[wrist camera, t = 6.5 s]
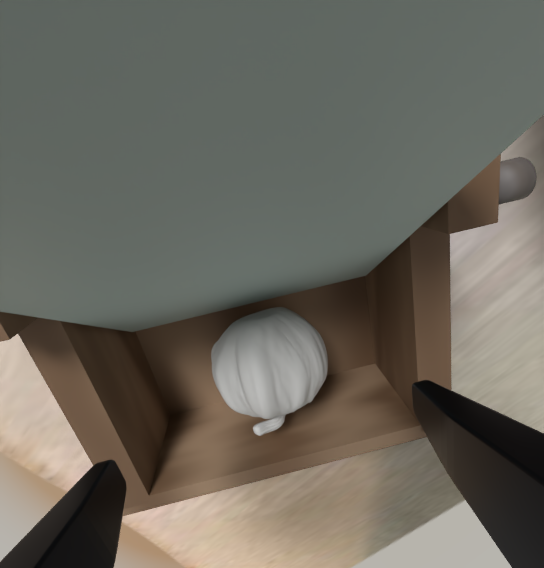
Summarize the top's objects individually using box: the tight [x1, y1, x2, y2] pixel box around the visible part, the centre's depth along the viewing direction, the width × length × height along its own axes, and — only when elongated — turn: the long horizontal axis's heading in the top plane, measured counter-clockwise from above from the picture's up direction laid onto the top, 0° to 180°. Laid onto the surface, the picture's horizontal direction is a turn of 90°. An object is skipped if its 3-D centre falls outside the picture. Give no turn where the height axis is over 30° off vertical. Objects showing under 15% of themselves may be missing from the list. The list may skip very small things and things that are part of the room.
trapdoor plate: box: [0, 0, 544, 332], centre depth 9 cm, size 12×14×1 cm
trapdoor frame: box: [0, 154, 536, 516], centre depth 13 cm, size 18×20×8 cm
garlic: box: [211, 307, 328, 436], centre depth 15 cm, size 6×5×5 cm
